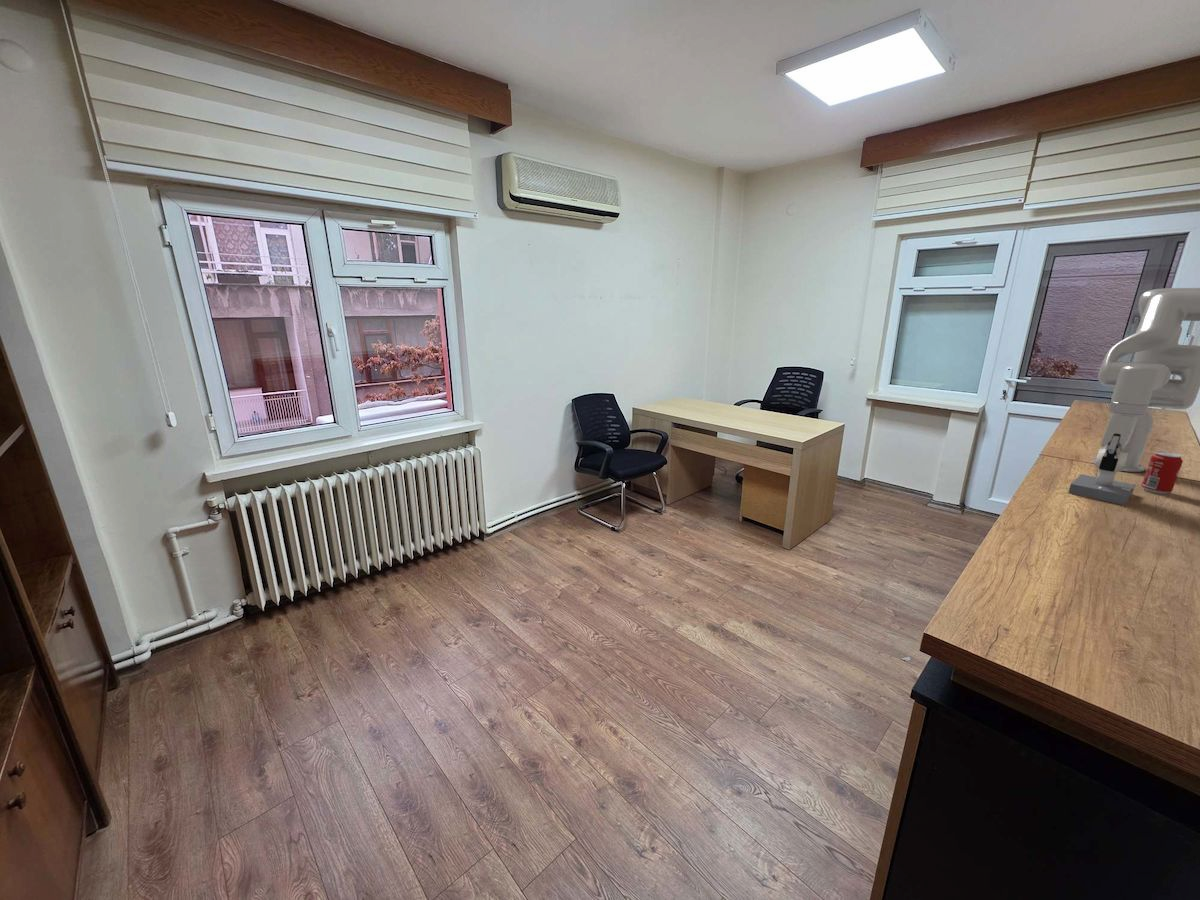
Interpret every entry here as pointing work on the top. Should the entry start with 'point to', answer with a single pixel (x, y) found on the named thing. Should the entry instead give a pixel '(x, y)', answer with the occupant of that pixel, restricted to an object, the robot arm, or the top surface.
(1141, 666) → the top surface
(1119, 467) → the white rounded dome
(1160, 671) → the top surface
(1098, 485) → the stub base
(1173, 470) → the beverage can
